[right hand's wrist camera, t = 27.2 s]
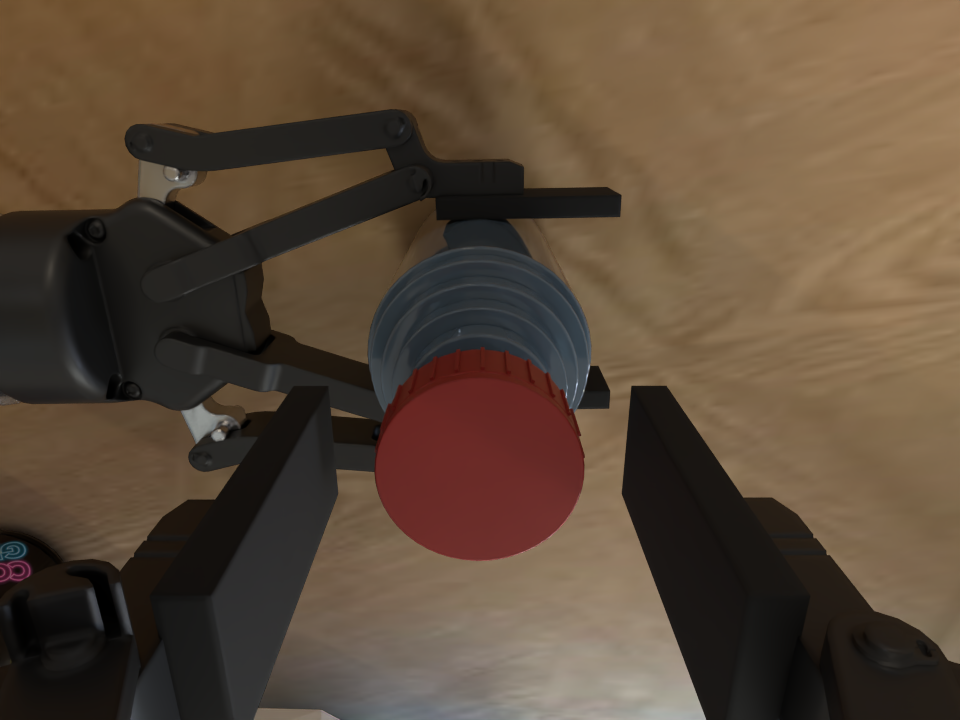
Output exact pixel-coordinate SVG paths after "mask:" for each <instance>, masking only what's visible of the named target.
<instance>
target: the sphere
mask: <svg viewBox="0 0 960 720" xmlns="http://www.w3.org/2000/svg"><path fill="white" fill-rule="evenodd" d="M254 720H340V719H338V718H336V717H334V716H332V715H330V714H328V713H326V712H325V711H323V710H313V709H272V708H258V709H257V712H256V715H255V717H254Z"/></svg>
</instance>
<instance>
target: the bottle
mask: <svg viewBox="0 0 960 720" xmlns="http://www.w3.org/2000/svg"><path fill="white" fill-rule="evenodd" d="M481 347H485V350H493V351H499V352H505V350H506V351H509V354H511V355H514V356H517V357H520V358H522V359H524V360H526V361H527V359H530V360H531V362H532V364H533V365H535V366H536V367H538V368H539V369H540V370H542V371H543V372H544V373H545V374H546V373H547V372H548V373H549V374H550V376H551V379H552V380H553V382H554V383H555V384H556V385H557V386H558V388H559V389H560V390H561V389H563V390H564V392H565V395H566V398H567V402H568V405H569V408H570V409H573V411H574V412H575V411H576V409H577V407H578V405H579V403H580V401H581V399H582V397H583V394H584V390H585V387H586V384H587V378H588V374H589V369H590V363H591V339H590V332H589V328H588V324H587V320H586V317H585V315H584V313H583V310H582V308H581V306H580V304H579V302H578V300H577V298H576V296H575V294H574V292H573V290H572V289H571V287H570V285H569V283H568V281H567V279H566V277H565V275H564V273H563V272H562V270H561V268H560V266H559V264H558V262H557V260H556V258H555V256H554V255H553V253H552V251H551V249H550V247H549V245H548V243H547V241H546V239H545V238H544V236H543V234H542V232H541V230H540V228H539V227H538V225H537V224H536V222H535V221H534V220H533V219H479V220H436V210H435V211H433V212H432V213H431V214H430V215H429V216H428V218H427V219H426V220H425V221H424V222H423V224H422V226H421V227H420V229H419V230H418V232H417V234H416V236H415V238H414V240H413V242H412V244H411V245H410V247H409V249H408V251H407V253H406V255H405V257H404V259H403V261H402V262H401V264H400V266H399V268H398V270H397V272H396V274H395V276H394V278H393V279H392V281H391V283H390V285H389V287H388V289H387V291H386V293H385V294H384V296H383V298H382V300H381V302H380V304H379V306H378V308H377V310H376V312H375V315H374V318H373V321H372V324H371V327H370V333H369V339H368V362H369V370H370V374H371V379H372V383H373V387H374V391H375V394H376V396H377V398H378V401H379V403H380V405H381V407H382V409H383V411H384V412H386V409H387V405H388V403H390V404H391V403H392V401H393V399H394V397H395V394H396V391H397V388H398V386H399V384H400V385H403V384H404V383H405V382H406V380H407V379H408V378H409V377H410V376H411V375H412V374H413V370H414V369H415V368H417V370H419V369H420V368H421V367H423V366H424V365H426V364H428V363H429V362H431V361H433V357H435V356H437V358H440V357H441V356H444V355H448V354H451V353H455V352H456V350H457V349H460V351H466V350H472V349H473V350H475V349H478V350H481Z"/></svg>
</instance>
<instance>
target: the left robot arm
mask: <svg viewBox="0 0 960 720" xmlns="http://www.w3.org/2000/svg"><path fill="white" fill-rule="evenodd" d="M125 144H126V147H127V149H128V151H129V152H130V153H131V154H132V155H133V156H134V157H135V158H137V159H139V173H138V198H134V199H131V200H129V201H127V202H126V203H125V204H123V205H122V206H120V207H119V208H117V209H104V210H51V211H17V212H11V213H7V214H0V405H10V404H17V403H20V402H23V403H29V404H70V403H115V402H125V401H134V400H146V401H151V402H154V403H157V404H160V405H162V406H164V407H166V408H168V409H172V410H176V411H181V413H182V415H183V417H184V419H185V421H186V424H187V426H188V428H189V430H190V432H191V434H192V436H193V438H194V440H195V442H196V445H195V446H194V447H193V449H192V450H191V451H190V452H189V456H188V458H189V462H190V464H191V465H192V466H193V467H194V468H195V469H197V470H199V471H203V472H207V471H213V470H217V469H221V468H225V467H229V466H233V465H237V464H240V463H241V462H242V460H243V459H244V457H245V456H246V454H247V453H248V452H249V450H250V449H251V447H252V446H253V444H254V443H255V441H256V440H257V438H258V437H259V436H260V434H261V433H262V431H263V430H264V428H265V427H266V425H267V424H268V422H269V421H270V420H271V418H272V417H273V415H274V414H275V412H272V411H262V412H253V413H247V414H245V410H244V408H243V407H241V406H238V405H236V406H223V405H220V404H218V403H216V402H215V401H214V400H213V398H212V397H211V396H212V395H213V394H214V393H216V392H217V391H218V390H219V389H221V388H222V387H223V386H225V385H226V384H227V383H231V384H234V385H238V386H241V387H244V388H248V389H251V390H254V391H259V392H268V391H279V392H282V393H285V394H288V393H289V392H290V391H291V389H292V388H293V386H328V387H329V398H330V407H332V408H335V409H339V410H342V411H345V412H349V413H352V414H355V415H359V416H362V417H365V418H369V419H363V418H350V417H338V416H331V420H332V431H333V442H334V453H335V464H336V469H343V470H356V471H369V472H374V470H375V456H376V453H375V447H376V444H377V441H378V438H379V434H380V427H381V424H382V421H383V418H384V415H385V412H384V411H383V409H382V407H381V405H380V403H379V401H378V398H377V396H376V394H375V391H374V387H373V383H372V379H371V374H370V370H369V365H368V364H365V363H361V362H358V361H355V360H352V359H348V358H345V357H342V356H339V355H336V354H332V353H329V352H326V351H323V350H319V349H316V348H313V347H310V346H306V345H303V344H300V343H298V342H297V341H296V340H295V339H294V338H293V337H291V336H289V335H287V334H283V333H280V332H277V331H274V330H271V327H270V320H269V315H268V313H267V311H266V308H265V306H264V304H263V301H262V298H261V296H262V289H263V281H264V277H263V270H262V262H264V261H266V260H269V259H271V258H273V257H276V256H279V255H281V254H284V253H286V252H289V251H291V250H294V249H296V248H299V247H301V246H304V245H306V244H309V243H311V242H314V241H317V240H319V239H322V238H324V237H327V236H329V235H332V234H334V233H337V232H339V231H342V230H344V229H347V228H349V227H352V226H355V225H357V224H360V223H362V222H365V221H367V220H370V219H372V218H375V217H377V216H380V215H382V214H385V213H387V212H390V211H393V210H395V209H398V208H400V207H403V206H405V205H408V204H410V203H413V202H415V201H418V200H420V201H422V200H423V199H425V198H436V220H479V219H535V218H588V217H620V211H621V195H620V194H619V193H617V192H615V191H613V190H611V189H610V188H608V187H587V188H535V189H524V167H523V166H522V164H519V163H517V162H514V161H512V160H509V159H483V160H441V159H438V158H435V157H434V156H433V155H431V154H430V153H429V151H428V150H427V148H426V146H425V144H424V141H423V139H422V136H421V134H420V131H419V129H418V124H417V121H416V118H415V117H414V116H413V115H412V114H411V113H409V112H408V111H406V110H397V109H395V110H392V109H390V110H383V111H375V112H368V113H361V114H353V115H346V116H338V117H331V118H323V119H316V120H308V121H301V122H294V123H286V124H279V125H271V126H264V127H256V128H249V129H242V130H234V131H227V132H219V133H212V132H208V131H204V130H200V129H195V128H191V127H187V126H183V125H178V124H172V123H164V124H161V123H159V124H136V125H133V126H131V127H130V128H129V129H128V130H127V132H126V135H125ZM383 148H386V150H387V153H388V155H389V157H390V160H391V162H392V165H393V167H394V170H392V171H389V172H387V173H384V174H382V175H380V176H377V177H375V178H372V179H370V180H367V181H365V182H362V183H360V184H357V185H355V186H352V187H350V188H347V189H345V190H342V191H340V192H337V193H335V194H332V195H330V196H327V197H325V198H322V199H320V200H318V201H315V202H313V203H310V204H308V205H305V206H303V207H300V208H298V209H295V210H293V211H290V212H288V213H285V214H283V215H280V216H278V217H275V218H273V219H270V220H267V221H265V222H262V223H260V224H257V225H255V226H252V227H250V228H247V229H245V230H242V231H240V232H237V233H235V234H232V235H230V234H228V233H227V232H225V231H223V230H222V229H220V228H219V227H217V226H216V225H214V224H212V223H211V222H209V221H208V220H206V219H205V218H203V217H202V216H200V215H198V214H197V213H195V212H194V211H192V210H191V209H189V208H187V207H186V206H184V205H183V204H181V203H180V202H178V201H176V195H177V193H178V191H179V190H180V189H182V188H189V187H193V186H196V185H199V184H201V183H202V182H203V181H204V180H205V178H206V174H207V171H216V170H224V169H231V168H239V167H246V166H254V165H261V164H269V163H277V162H284V161H292V160H299V159H307V158H315V157H322V156H330V155H337V154H345V153H352V152H360V151H368V150H375V149H383ZM609 402H610V390H609V388H608V385H607V383H606V381H605V379H604V377H603V375H602V373H601V371H600V369H599V366H590V369H589V374H588V378H587V384H586V387H585V390H584V394H583V397H582V399H581V401H580V403H579V405H578V407H577V409H609Z"/></svg>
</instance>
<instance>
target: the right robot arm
mask: <svg viewBox="0 0 960 720" xmlns="http://www.w3.org/2000/svg"><path fill="white" fill-rule="evenodd" d="M337 496H338V486H337V475H336V464H335V453H334V442H333V431H332V420H331V409H330V398H329V387H328V386H293V388H292V389H291V391H290V392H289V393H288V395H287V396H286V398H285V399H284V401H283V402H282V404H281V405H280V406H279V408H278V409H277V411H276V412H275V414H274V415H273V417H272V418H271V420H270V421H269V422H268V424H267V425H266V427H265V428H264V430H263V431H262V433H261V434H260V436H259V437H258V438H257V440H256V441H255V443H254V444H253V446H252V447H251V449H250V450H249V452H248V453H247V454H246V456H245V457H244V459H243V460H242V462H241V463H240V465H239V466H238V468H237V469H236V470H235V472H234V473H233V475H232V476H231V478H230V479H229V481H228V482H227V484H226V485H225V486H224V488H223V489H222V491H221V492H220V494H219V495H218V497H217V498H216V499H215V500H187V501H185V502H184V503H183V504H181V505H180V506H178V507H177V508H175V509H174V510H172V511H171V512H169V513H168V514H166V515H165V516H163V517H162V519H161V520H160V521H159V522H158V524H157V525H156V526H155V527H154V529H153V530H152V531H151V533H150V534H149V535H148V536H147V541H143V543H142V544H141V545H140V546H139V548H138V549H137V550H136V552H135V553H134V557H131V558H130V559H129V560H128V562H127V563H126V564H125V565H124V567H123V568H122V569H121V571H120V572H119V570H118V569H117V568H115V567H114V566H113V565H112V564H111V563H109V562H105V561H100V560H94V559H88V560H76V561H69V562H65V563H62V564H58V565H55V566H51V567H48V568H45V569H43V570H41V571H39V572H37V573H35V574H33V575H31V576H29V577H26V578H24V579H23V580H22V581H20V582H19V583H18V584H16V585H15V586H13V587H12V588H11V589H9V590H8V591H7V592H5V593H4V595H3V596H2V597H1V599H0V629H1V632H2V635H3V638H4V641H5V644H6V647H7V650H8V653H9V656H10V659H11V664H9V665H5V666H2V667H0V720H254V717H255V715H256V712H257V709H258V707H259V704H260V701H261V699H262V696H263V693H264V691H265V688H266V685H267V682H268V680H269V677H270V674H271V672H272V669H273V666H274V664H275V661H276V658H277V656H278V653H279V650H280V648H281V645H282V642H283V640H284V637H285V634H286V632H287V629H288V626H289V624H290V621H291V618H292V616H293V613H294V610H295V608H296V605H297V602H298V600H299V597H300V594H301V592H302V589H303V586H304V584H305V581H306V578H307V576H308V573H309V570H310V568H311V565H312V562H313V560H314V557H315V554H316V552H317V549H318V546H319V544H320V541H321V538H322V536H323V533H324V530H325V528H326V525H327V522H328V520H329V517H330V514H331V512H332V509H333V506H334V504H335V501H336V498H337ZM622 496H623V498H624V501H625V504H626V506H627V509H628V512H629V514H630V517H631V520H632V522H633V525H634V528H635V530H636V533H637V536H638V538H639V541H640V544H641V546H642V549H643V552H644V554H645V557H646V560H647V562H648V565H649V568H650V570H651V573H652V576H653V578H654V581H655V584H656V586H657V589H658V592H659V594H660V597H661V600H662V602H663V605H664V608H665V610H666V613H667V616H668V618H669V621H670V624H671V626H672V629H673V632H674V634H675V637H676V640H677V642H678V645H679V648H680V650H681V653H682V656H683V658H684V661H685V664H686V666H687V669H688V672H689V674H690V677H691V680H692V682H693V685H694V688H695V691H696V693H697V696H698V699H699V701H700V704H701V707H702V709H703V712H704V715H705V717H706V720H960V664H958V663H954V662H951V661H948V660H947V658H946V657H945V655H944V654H943V652H942V651H941V649H940V648H939V647H938V645H937V644H935V643H934V642H933V641H932V640H931V639H929V638H928V637H927V636H926V635H925V634H924V633H922V632H921V631H920V630H918V629H916V628H914V627H913V626H911V625H909V624H907V623H905V622H903V621H901V620H900V619H898V618H894V617H891V616H888V615H885V614H882V613H879V612H875V611H874V610H873V609H872V608H871V607H870V605H869V604H868V603H867V602H866V600H865V599H864V598H863V597H862V595H861V594H860V593H859V591H858V590H857V589H856V588H855V586H854V585H853V584H852V583H851V581H850V580H849V579H848V578H847V576H846V575H845V574H844V573H843V571H842V570H841V569H840V568H839V566H838V565H837V564H836V563H835V561H834V560H833V559H832V557H831V556H830V555H827V554H826V550H825V549H824V547H823V546H822V545H821V544H820V542H819V541H818V540H817V539H816V538H813V534H812V532H811V531H810V530H809V529H808V527H807V526H806V525H805V524H804V522H803V521H802V520H801V518H800V517H799V516H798V515H797V514H796V513H794V512H793V511H791V510H790V509H788V508H787V507H785V506H784V505H782V504H781V503H779V502H778V501H776V500H775V499H773V498H743V497H742V495H741V494H740V492H739V491H738V489H737V488H736V486H735V485H734V484H733V482H732V481H731V479H730V478H729V476H728V475H727V473H726V472H725V470H724V469H723V468H722V466H721V465H720V463H719V462H718V460H717V459H716V457H715V456H714V454H713V453H712V452H711V450H710V449H709V447H708V446H707V444H706V443H705V441H704V440H703V438H702V437H701V436H700V434H699V433H698V431H697V430H696V428H695V427H694V425H693V424H692V422H691V421H690V420H689V418H688V417H687V415H686V414H685V412H684V411H683V409H682V408H681V406H680V405H679V404H678V402H677V401H676V399H675V398H674V396H673V395H672V393H671V392H670V391H669V389H668V388H667V386H632V387H631V398H630V409H629V420H628V431H627V442H626V453H625V464H624V475H623V486H622Z"/></svg>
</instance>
